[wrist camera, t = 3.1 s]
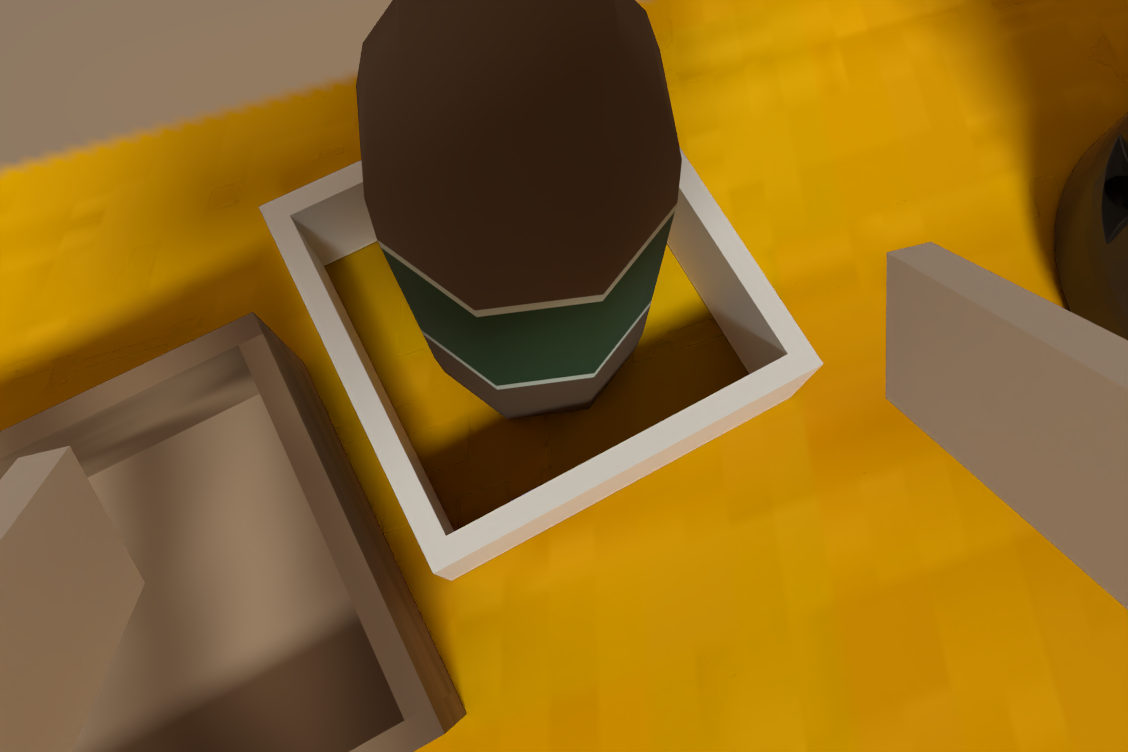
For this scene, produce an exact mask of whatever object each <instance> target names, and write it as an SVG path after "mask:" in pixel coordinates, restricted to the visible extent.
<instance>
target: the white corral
mask: <svg viewBox="0 0 1128 752" xmlns="http://www.w3.org/2000/svg"><path fill="white" fill-rule="evenodd" d="M680 152H681V157H682V165H681V174H680V183H679V192H678V201H677V206H676V210H675V214H674V217H673V221H672V225H671V229H670V232H669V236H668V240H667V244H668V246H669V248H670V249H671V251H672V252H673V254H674V256H675V257H676V259H677V260H678V262H679V263H680V265H681V267H682V268H683V270H684V271H685V273H686V274H687V276H688V278H689V279H690V281H691V282H692V284H693V286H694V287H695V289H696V290H697V292H698V293H699V295H700V297H701V298H702V300H703V301H704V303H705V305H706V306H707V308H708V309H709V311H710V312H711V314H712V316H713V317H714V319H715V320H716V322H717V323H718V325H719V327H720V328H721V330H722V331H723V333H724V335H725V336H726V338H727V339H728V341H729V342H730V344H731V346H732V347H733V349H734V350H735V352H736V354H737V355H738V357H739V358H740V360H741V361H742V363H743V365H744V366H745V368H746V369H747V371H748V372H749V375H748V376H746V377H744V378H742V379H740V380H738V381H736V382H734V383H733V384H731V385H729V386H727V387H725V388H723V389H721V390H719V391H718V392H716V393H714V394H712V395H710V396H708V397H706V398H704V399H702V400H701V401H699V402H697V403H695V404H693V405H691V406H689V407H687V408H686V409H684V410H682V411H680V412H678V413H676V414H674V415H672V416H671V417H669V418H667V419H665V420H663V421H661V422H659V423H657V424H656V425H654V426H652V427H650V428H648V429H646V430H644V431H642V432H640V433H639V434H637V435H635V436H633V437H631V438H629V439H627V440H625V441H624V442H622V443H620V444H618V445H616V446H614V447H612V448H610V449H609V450H607V451H605V452H603V453H601V454H599V455H597V456H595V457H594V458H592V459H590V460H588V461H586V462H584V463H582V464H580V465H578V466H577V467H575V468H573V469H571V470H569V471H567V472H565V473H563V474H562V475H560V476H558V477H556V478H554V479H552V480H550V481H548V482H547V483H545V484H543V485H541V486H539V487H537V488H535V489H533V490H531V491H530V492H528V493H526V494H524V495H522V496H520V497H518V498H516V499H515V500H513V501H511V502H509V503H507V504H505V505H503V506H501V507H500V508H498V509H496V510H494V511H492V512H490V513H488V514H486V515H485V516H483V517H481V518H479V519H477V520H475V521H473V522H471V523H469V524H468V525H466V526H464V527H462V528H460V529H458V530H456V531H454V530H453V528H452V526H451V524H450V522H449V520H448V518H447V516H446V514H445V512H444V510H443V508H442V506H441V504H440V502H439V499H438V497H437V495H436V493H435V491H434V489H433V487H432V485H431V483H430V481H429V479H428V477H427V475H426V473H425V471H424V469H423V467H422V465H421V463H420V461H419V459H418V457H417V455H416V453H415V451H414V449H413V446H412V444H411V442H410V440H409V438H408V436H407V434H406V432H405V430H404V428H403V426H402V424H401V422H400V420H399V418H398V416H397V414H396V412H395V410H394V408H393V406H392V404H391V402H390V400H389V398H388V396H387V393H386V391H385V389H384V387H383V385H382V383H381V381H380V379H379V377H378V375H377V373H376V371H375V369H374V367H373V365H372V363H371V361H370V359H369V357H368V355H367V353H366V351H365V349H364V347H363V345H362V343H361V340H360V338H359V336H358V334H357V332H356V330H355V328H354V326H353V324H352V322H351V320H350V318H349V316H348V314H347V312H346V310H345V308H344V306H343V304H342V302H341V300H340V298H339V296H338V294H337V292H336V290H335V287H334V285H333V283H332V281H331V279H330V277H329V275H328V273H327V271H326V269H325V267H324V266H325V265H327V264H329V263H332V262H334V261H336V260H338V259H340V258H342V257H344V256H346V255H349V254H351V253H353V252H355V251H357V250H359V249H361V248H363V247H366V246H368V245H370V244H372V243H374V242H376V241H377V238H376V235H375V231H374V228H373V225H372V222H371V219H370V215H369V212H368V209H367V206H366V203H365V199H364V190H363V175H362V161H361V160H360V161H358V162H356V163H354V164H351V165H349V166H347V167H345V168H343V169H340V170H338V171H336V172H334V173H332V174H329V175H327V176H325V177H323V178H321V179H318V180H316V181H314V182H312V183H310V184H307V185H305V186H303V187H301V188H299V189H296V190H294V191H292V192H290V193H288V194H285V195H283V196H281V197H279V198H277V199H274V200H272V201H270V202H268V203H265V204H263V205H261V206H259V209H260V211H261V213H262V215H263V217H264V219H265V221H266V223H267V225H268V227H269V230H270V232H271V234H272V236H273V238H274V240H275V242H276V244H277V246H278V249H279V251H280V253H281V255H282V257H283V259H284V261H285V263H286V265H287V267H288V270H289V272H290V274H291V276H292V278H293V280H294V282H295V284H296V286H297V288H298V291H299V293H300V295H301V297H302V299H303V301H304V303H305V305H306V307H307V309H308V312H309V314H310V316H311V318H312V320H313V322H314V324H315V326H316V328H317V330H318V333H319V335H320V337H321V339H322V341H323V343H324V345H325V347H326V349H327V351H328V354H329V356H330V358H331V360H332V362H333V364H334V366H335V368H336V370H337V373H338V375H339V377H340V379H341V381H342V383H343V385H344V387H345V389H346V391H347V394H348V396H349V398H350V400H351V402H352V404H353V406H354V408H355V410H356V412H357V415H358V417H359V419H360V421H361V423H362V425H363V427H364V429H365V431H366V433H367V436H368V438H369V440H370V442H371V444H372V446H373V448H374V450H375V452H376V454H377V457H378V459H379V461H380V463H381V465H382V467H383V469H384V471H385V473H386V475H387V478H388V480H389V482H390V484H391V486H392V488H393V490H394V492H395V494H396V496H397V499H398V501H399V503H400V505H401V507H402V509H403V511H404V513H405V515H406V518H407V520H408V522H409V524H410V526H411V528H412V530H413V532H414V534H415V536H416V539H417V541H418V543H419V545H420V547H421V549H422V551H423V553H424V555H425V557H426V560H427V562H428V564H429V566H430V568H431V570H432V572H433V574H435V575H438V576H441V577H443V578H446V579H448V580H451V581H452V580H454V579H456V578H458V577H460V576H461V575H463V574H465V573H467V572H469V571H471V570H472V569H474V568H476V567H478V566H480V565H482V564H484V563H485V562H487V561H489V560H491V559H493V558H495V557H496V556H498V555H500V554H502V553H504V552H506V551H508V550H509V549H511V548H513V547H515V546H517V545H519V544H521V543H522V542H524V541H526V540H528V539H530V538H532V537H533V536H535V535H537V534H539V533H541V532H543V531H545V530H546V529H548V528H550V527H552V526H554V525H556V524H557V523H559V522H561V521H563V520H565V519H567V518H569V517H570V516H572V515H574V514H576V513H578V512H580V511H582V510H583V509H585V508H587V507H589V506H591V505H593V504H594V503H596V502H598V501H600V500H602V499H604V498H606V497H607V496H609V495H611V494H613V493H615V492H617V491H618V490H620V489H622V488H624V487H626V486H628V485H630V484H631V483H633V482H635V481H637V480H639V479H641V478H642V477H644V476H646V475H648V474H650V473H652V472H654V471H655V470H657V469H659V468H661V467H663V466H665V465H667V464H668V463H670V462H672V461H674V460H676V459H678V458H679V457H681V456H683V455H685V454H687V453H689V452H691V451H692V450H694V449H696V448H698V447H700V446H702V445H703V444H705V443H707V442H709V441H711V440H713V439H715V438H716V437H718V436H720V435H722V434H724V433H726V432H727V431H729V430H731V429H733V428H735V427H737V426H739V425H740V424H742V423H744V422H746V421H748V420H750V419H752V418H753V417H755V416H757V415H759V414H761V413H763V412H764V411H766V410H768V409H770V408H772V407H774V406H776V405H777V404H779V403H781V402H783V401H785V400H787V399H788V398H790V397H791V396H792V395H793V394H794V393H795V392H796V391H797V390H798V389H799V388H800V387H801V386H802V385H803V384H804V383H805V382H806V381H807V380H808V379H809V378H810V377H811V376H812V375H813V374H814V373H815V372H816V371H817V370H818V369H819V368H820V367H821V366H822V365H823V363H822V361H821V360H820V358H819V357H818V355H817V354H816V352H815V351H814V349H813V348H812V346H811V345H810V343H809V342H808V340H807V339H806V337H805V336H804V334H803V333H802V331H801V330H800V328H799V327H798V325H797V323H796V322H795V320H794V319H793V317H792V316H791V314H790V313H789V311H788V310H787V308H786V307H785V305H784V304H783V302H782V301H781V299H780V298H779V296H778V295H777V293H776V292H775V290H774V289H773V287H772V286H771V284H770V283H769V281H768V280H767V278H766V277H765V275H764V274H763V272H762V271H761V269H760V268H759V266H758V265H757V263H756V262H755V260H754V259H753V257H752V256H751V254H750V253H749V251H748V250H747V248H746V247H745V245H744V244H743V242H742V241H741V239H740V238H739V236H738V235H737V233H736V232H735V230H734V229H733V227H732V226H731V224H730V223H729V221H728V219H727V218H726V216H725V215H724V213H723V212H722V210H721V209H720V207H719V206H718V204H717V203H716V201H715V200H714V198H713V197H712V195H711V194H710V192H709V191H708V189H707V188H706V186H705V185H704V183H703V182H702V180H701V179H700V177H699V176H698V174H697V173H696V171H695V170H694V168H693V167H692V165H691V164H690V162H689V161H688V159H687V158H686V156H685V155H684V153H683V152H682V150H681V149H680Z"/></svg>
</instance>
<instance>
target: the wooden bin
mask: <svg viewBox="0 0 1128 752" xmlns="http://www.w3.org/2000/svg"><path fill="white" fill-rule="evenodd" d="M66 446H70V447H71V449H72V451H73V453H74V455H75V456H76V458H77V460H78V462H79V464H80V466H81V467H82V469H83V471H84V473H85V475H86V476H87V478H88V480H89V482H90V484H91V486H92V487H93V489H94V491H95V493H96V495H97V497H98V498H99V500H100V502H101V504H102V506H103V507H104V509H105V511H106V513H107V515H108V517H109V518H110V520H111V522H112V524H113V526H114V528H115V529H116V531H117V533H118V535H119V537H120V538H121V540H122V542H123V544H124V546H125V548H126V549H127V551H128V553H129V555H130V557H131V559H132V560H133V562H134V564H135V566H136V568H137V569H138V571H139V573H140V575H141V577H142V579H143V580H144V582H145V584H144V587H143V589H142V591H141V594H140V596H139V598H138V600H137V603H136V605H135V607H134V610H133V612H132V614H131V616H130V619H129V621H128V623H127V625H126V628H125V630H124V632H123V635H122V637H121V639H120V641H119V644H118V646H117V648H116V651H115V653H114V655H113V657H112V660H111V662H110V664H109V667H108V669H107V671H106V673H105V676H104V678H103V680H102V683H101V685H100V687H99V689H98V692H97V694H96V696H95V699H94V701H93V703H92V705H91V708H90V710H89V712H88V714H87V717H86V719H85V721H84V724H83V726H82V728H81V730H80V733H79V735H78V737H77V740H76V742H75V744H74V746H73V749H72V751H71V752H413V751H415V750H417V749H419V748H420V747H422V746H424V745H426V744H428V743H429V742H431V741H433V740H435V739H436V738H438V737H440V736H442V735H443V734H445V733H446V732H447V731H448V730H449V729H450V728H452V727H453V726H454V725H455V724H456V723H457V722H458V721H459V720H460V719H462V718H463V717H464V716H465V715H466V711H465V709H464V707H463V705H462V703H461V701H460V699H459V696H458V694H457V692H456V690H455V688H454V686H453V683H452V681H451V679H450V677H449V675H448V673H447V671H446V668H445V666H444V664H443V662H442V660H441V658H440V656H439V653H438V651H437V649H436V647H435V645H434V643H433V640H432V638H431V636H430V634H429V632H428V630H427V628H426V625H425V623H424V621H423V619H422V617H421V615H420V612H419V610H418V608H417V606H416V604H415V602H414V600H413V597H412V595H411V593H410V591H409V589H408V587H407V584H406V582H405V580H404V578H403V576H402V574H401V572H400V569H399V567H398V565H397V563H396V561H395V559H394V556H393V554H392V552H391V550H390V548H389V546H388V544H387V541H386V539H385V537H384V535H383V533H382V531H381V529H380V526H379V524H378V522H377V520H376V518H375V516H374V513H373V511H372V509H371V507H370V505H369V503H368V501H367V498H366V496H365V494H364V492H363V490H362V488H361V485H360V483H359V481H358V479H357V477H356V475H355V473H354V470H353V468H352V466H351V464H350V462H349V460H348V457H347V455H346V453H345V451H344V449H343V447H342V445H341V442H340V440H339V438H338V436H337V434H336V432H335V430H334V427H333V425H332V423H331V421H330V419H329V417H328V414H327V412H326V410H325V408H324V406H323V404H322V402H321V399H320V397H319V395H318V393H317V391H316V389H315V386H314V384H313V382H312V380H311V378H310V376H309V374H308V371H307V369H306V367H305V365H304V363H303V361H302V360H301V359H300V358H299V357H298V356H297V355H296V354H295V353H294V352H293V351H292V350H291V349H290V348H289V347H288V346H287V345H286V344H285V343H284V342H283V341H282V340H281V339H280V338H279V337H278V336H277V335H276V334H275V333H274V332H273V331H272V330H271V329H270V328H269V327H268V326H267V325H266V324H265V323H264V322H263V321H262V320H261V319H260V318H259V317H258V316H257V315H256V314H255V313H254V312H252V313H250V314H248V315H246V316H243V317H241V318H239V319H237V320H235V321H233V322H231V323H229V324H227V325H224V326H222V327H220V328H218V329H216V330H214V331H212V332H210V333H208V334H205V335H203V336H201V337H199V338H197V339H195V340H193V341H191V342H188V343H186V344H184V345H182V346H180V347H178V348H176V349H174V350H172V351H169V352H167V353H165V354H163V355H161V356H159V357H157V358H155V359H153V360H150V361H148V362H146V363H144V364H142V365H140V366H138V367H136V368H133V369H131V370H129V371H127V372H125V373H123V374H121V375H119V376H117V377H114V378H112V379H110V380H108V381H106V382H104V383H102V384H100V385H98V386H95V387H93V388H91V389H89V390H87V391H85V392H83V393H81V394H78V395H76V396H74V397H72V398H70V399H68V400H66V401H64V402H62V403H59V404H57V405H55V406H53V407H51V408H49V409H47V410H45V411H43V412H40V413H38V414H36V415H34V416H32V417H30V418H28V419H26V420H23V421H21V422H19V423H17V424H15V425H13V426H11V427H9V428H7V429H4V430H2V431H0V479H1V478H2V477H3V476H4V474H5V473H6V472H7V471H8V470H9V468H10V467H11V466H12V465H13V463H14V462H15V461H16V460H17V459H18V458H20V457H24V456H28V455H33V454H37V453H41V452H45V451H49V450H54V449H58V448H62V447H66Z"/></svg>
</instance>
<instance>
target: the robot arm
mask: <svg viewBox="0 0 1128 752" xmlns="http://www.w3.org/2000/svg"><path fill="white" fill-rule="evenodd" d="M1055 253H1056V261H1057V268H1058V273H1059V278H1060V282H1061V285H1062V289H1063V292H1064V295H1065V298H1066V301H1067V303H1068V306H1069V308H1070V311H1071V312H1070V311H1068V310H1066V309H1064V308H1062V307H1060V306H1058V305H1056V304H1054V303H1052V302H1050V301H1048V300H1046V299H1044V298H1042V297H1040V296H1038V295H1036V294H1034V293H1032V292H1030V291H1028V290H1026V289H1024V288H1022V287H1020V286H1018V285H1016V284H1014V283H1012V282H1010V281H1008V280H1006V279H1004V278H1002V277H1000V276H998V275H996V274H994V273H992V272H990V271H988V270H986V269H984V268H982V267H980V266H978V265H976V264H974V263H972V262H970V261H968V260H966V259H964V258H962V257H960V256H958V255H956V254H954V253H952V252H950V251H948V250H946V249H944V248H942V247H940V246H938V245H936V244H934V243H932V242H929V243H925V244H921V245H916V246H912V247H908V248H904V249H899V250H895V251H891V252H887V307H886V399H888V400H889V401H890V402H891V403H892V404H893V405H894V406H896V407H897V408H898V409H899V410H900V411H901V412H902V413H904V414H905V415H906V416H907V417H908V418H909V419H910V420H912V421H913V422H914V423H915V424H916V425H917V426H918V427H920V428H921V429H922V430H923V431H924V432H925V433H927V434H928V435H929V436H930V437H931V438H932V439H933V440H935V441H936V442H937V443H938V444H939V445H940V446H941V447H943V448H944V449H945V450H946V451H947V452H948V453H949V454H951V455H952V456H953V457H954V458H955V459H956V460H957V461H959V462H960V463H961V464H962V465H963V466H964V467H965V468H967V469H968V470H969V471H970V472H971V473H972V474H973V475H975V476H976V477H977V478H978V479H979V480H980V481H981V482H983V483H984V484H985V485H986V486H987V487H988V488H989V489H991V490H992V491H993V492H994V493H995V494H996V495H997V496H999V497H1000V498H1001V499H1002V500H1003V501H1004V502H1005V503H1007V504H1008V505H1009V506H1010V507H1011V508H1012V509H1013V510H1015V511H1016V512H1017V513H1018V514H1019V515H1020V516H1021V517H1023V518H1024V519H1025V520H1026V521H1027V522H1028V523H1029V524H1031V525H1032V526H1033V527H1034V528H1035V529H1036V530H1037V531H1039V532H1040V533H1041V534H1042V535H1043V536H1044V537H1045V538H1047V539H1048V540H1049V541H1050V542H1051V543H1052V544H1053V545H1055V546H1056V547H1057V548H1058V549H1059V550H1060V551H1061V552H1063V553H1064V554H1065V555H1066V556H1067V557H1068V558H1069V559H1071V560H1072V561H1073V562H1074V563H1075V564H1076V565H1077V566H1079V567H1080V568H1081V569H1082V570H1083V571H1084V572H1085V573H1087V574H1088V575H1089V576H1090V577H1091V578H1092V579H1093V580H1095V581H1096V582H1097V583H1098V584H1099V585H1100V586H1101V587H1103V588H1104V589H1105V590H1106V591H1107V592H1108V593H1109V594H1111V595H1112V596H1113V597H1114V598H1115V599H1116V600H1117V601H1119V602H1120V603H1121V604H1122V605H1123V606H1124V607H1125V608H1127V609H1128V113H1127V114H1125V115H1124V116H1123V117H1122V118H1121V119H1120V120H1119V121H1118V122H1117V123H1115V124H1114V125H1113V126H1112V127H1111V128H1110V129H1109V130H1108V131H1107V132H1106V133H1104V134H1103V135H1102V136H1101V137H1100V138H1099V139H1098V140H1097V141H1096V142H1095V143H1094V144H1093V145H1092V146H1091V147H1090V148H1089V149H1088V150H1087V151H1086V152H1085V154H1084V155H1083V156H1082V157H1081V159H1080V160H1079V162H1078V163H1077V165H1076V166H1075V167H1074V169H1073V171H1072V173H1071V175H1070V177H1069V178H1068V181H1067V183H1066V185H1065V188H1064V190H1063V193H1062V196H1061V199H1060V203H1059V207H1058V212H1057V218H1056V225H1055ZM144 584H145V582H144V580H143V579H142V577H141V575H140V573H139V571H138V569H137V568H136V566H135V564H134V562H133V560H132V559H131V557H130V555H129V553H128V551H127V549H126V548H125V546H124V544H123V542H122V540H121V538H120V537H119V535H118V533H117V531H116V529H115V528H114V526H113V524H112V522H111V520H110V518H109V517H108V515H107V513H106V511H105V509H104V507H103V506H102V504H101V502H100V500H99V498H98V497H97V495H96V493H95V491H94V489H93V487H92V486H91V484H90V482H89V480H88V478H87V476H86V475H85V473H84V471H83V469H82V467H81V466H80V464H79V462H78V460H77V458H76V456H75V455H74V453H73V451H72V449H71V447H70V446H66V447H62V448H58V449H54V450H49V451H45V452H41V453H37V454H33V455H28V456H24V457H20V458H18V459H17V460H16V461H15V462H14V463H13V465H12V466H11V467H10V468H9V470H8V471H7V472H6V473H5V474H4V476H3V477H2V478H1V479H0V752H71V751H72V749H73V746H74V744H75V742H76V740H77V737H78V735H79V733H80V730H81V728H82V726H83V724H84V721H85V719H86V717H87V714H88V712H89V710H90V708H91V705H92V703H93V701H94V699H95V696H96V694H97V692H98V689H99V687H100V685H101V683H102V680H103V678H104V676H105V673H106V671H107V669H108V667H109V664H110V662H111V660H112V657H113V655H114V653H115V651H116V648H117V646H118V644H119V641H120V639H121V637H122V635H123V632H124V630H125V628H126V625H127V623H128V621H129V619H130V616H131V614H132V612H133V610H134V607H135V605H136V603H137V600H138V598H139V596H140V594H141V591H142V589H143V587H144Z"/></svg>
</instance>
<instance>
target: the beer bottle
mask: <svg viewBox="0 0 1128 752" xmlns="http://www.w3.org/2000/svg"><path fill="white" fill-rule="evenodd" d="M356 90H357V104H358V118H359V133H360V147H361V161H362V175H363V190H364V199H365V203H366V206H367V209H368V212H369V215H370V219H371V222H372V225H373V228H374V231H375V235H376V238H377V241H378V243H379V245H380V247H381V249H382V251H383V253H384V255H385V257H386V259H387V261H388V263H389V265H390V267H391V269H392V271H393V273H394V275H395V277H396V280H397V282H398V284H399V286H400V288H401V290H402V292H403V294H404V296H405V298H406V300H407V302H408V304H409V306H410V308H411V310H412V312H413V314H414V316H415V319H416V321H417V323H418V325H419V327H420V329H421V331H422V333H423V335H424V337H425V339H426V341H427V343H428V345H429V347H430V349H431V351H432V353H433V355H434V358H435V359H436V360H437V362H438V363H439V365H440V366H441V367H442V369H443V370H444V372H445V373H447V374H448V375H449V376H451V377H452V378H453V379H455V380H456V381H457V382H459V383H460V384H461V385H463V386H464V387H465V388H467V389H468V390H469V391H471V392H472V393H473V394H475V395H476V396H477V397H479V398H480V399H481V400H483V401H484V402H485V403H487V404H488V405H489V406H491V407H492V408H493V409H495V410H496V411H497V412H499V413H500V414H501V415H503V416H504V417H505V418H507V419H512V418H520V417H528V416H535V415H543V414H550V413H558V412H566V411H573V410H581V409H588V408H589V407H590V406H591V405H592V403H593V402H594V401H595V399H596V398H597V397H598V396H599V394H600V393H601V392H602V390H603V389H604V388H605V387H606V385H607V384H608V383H609V381H610V380H611V379H612V378H613V376H614V375H615V374H616V372H617V371H618V370H619V369H620V367H621V366H622V365H623V363H624V362H625V361H626V360H627V358H628V357H629V356H630V354H631V353H632V352H633V351H634V349H635V348H636V346H637V344H638V342H639V340H640V337H641V335H642V333H643V330H644V327H645V323H646V319H647V315H648V312H649V308H650V304H651V300H652V296H653V293H654V289H655V285H656V281H657V278H658V274H659V270H660V266H661V263H662V259H663V255H664V251H665V247H666V244H667V240H668V236H669V232H670V229H671V225H672V221H673V217H674V214H675V210H676V206H677V201H678V192H679V183H680V174H681V165H682V157H681V152H680V147H679V142H678V137H677V132H676V127H675V122H674V118H673V113H672V108H671V103H670V98H669V93H668V88H667V83H666V78H665V73H664V68H663V63H662V59H661V54H660V50H659V47H658V44H657V41H656V38H655V35H654V33H653V30H652V27H651V24H650V21H649V18H648V16H647V13H646V11H645V10H644V9H643V8H642V7H641V6H640V5H639V4H638V3H637V2H636V1H635V0H393V1H392V2H391V4H390V5H389V6H388V8H387V9H386V11H385V12H384V14H383V15H382V16H381V18H380V19H379V21H378V22H377V24H376V25H375V26H374V28H373V29H372V31H371V32H370V34H369V35H368V36H367V38H366V39H365V41H364V42H363V45H362V52H361V58H360V64H359V71H358V77H357V83H356Z"/></svg>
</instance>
